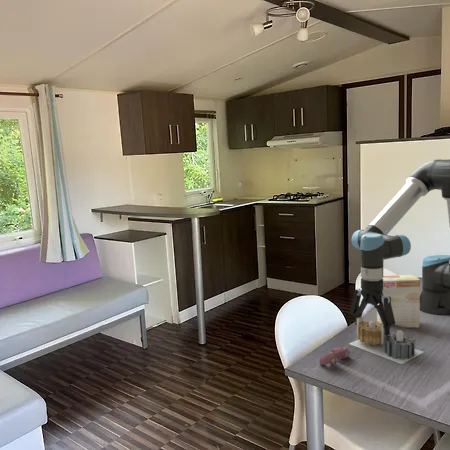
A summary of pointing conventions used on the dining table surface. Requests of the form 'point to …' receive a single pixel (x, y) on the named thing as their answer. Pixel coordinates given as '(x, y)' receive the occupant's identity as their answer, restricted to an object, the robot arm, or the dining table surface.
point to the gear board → (379, 348)
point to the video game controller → (334, 356)
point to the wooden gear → (369, 333)
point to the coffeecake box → (403, 299)
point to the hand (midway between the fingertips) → (372, 338)
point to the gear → (399, 346)
